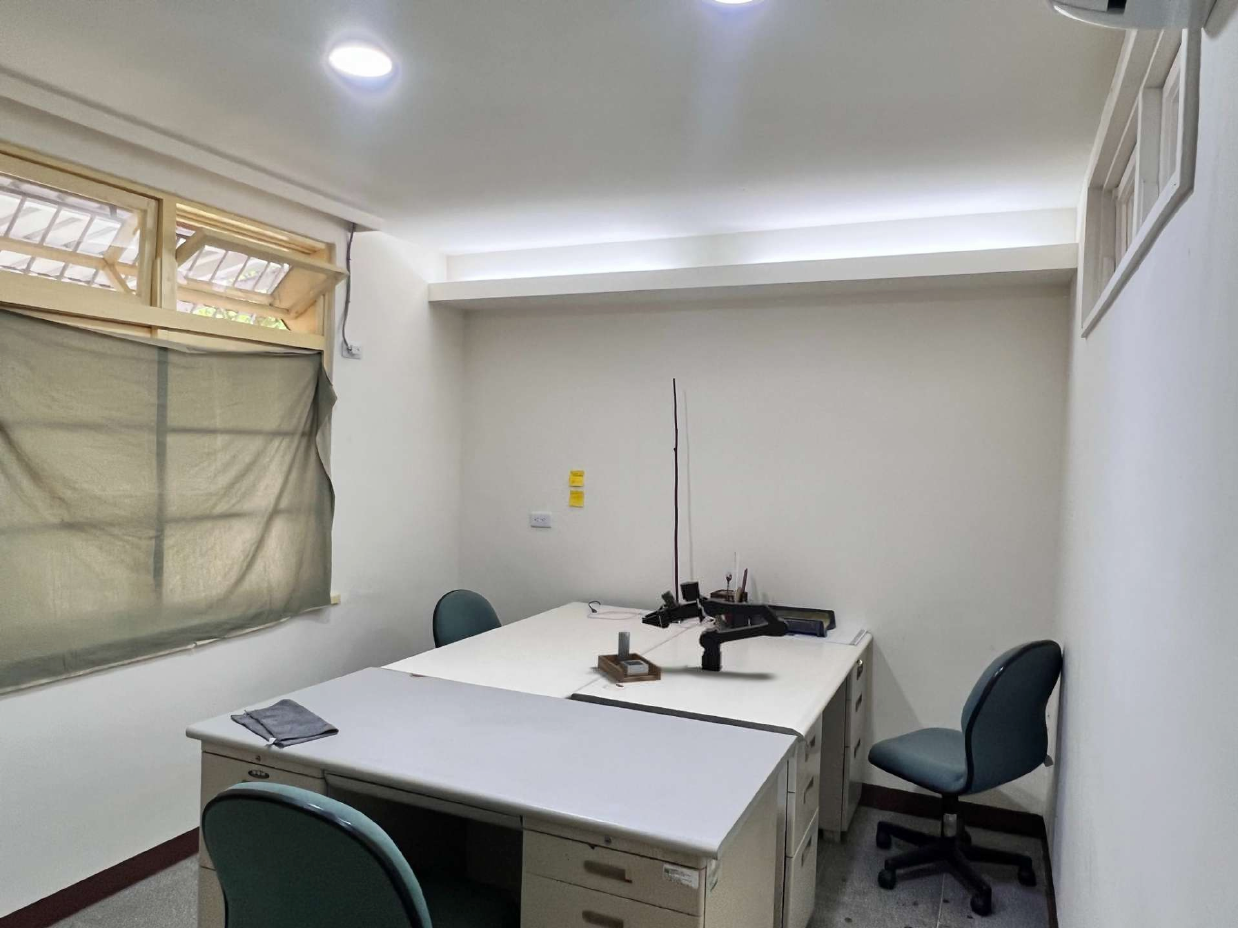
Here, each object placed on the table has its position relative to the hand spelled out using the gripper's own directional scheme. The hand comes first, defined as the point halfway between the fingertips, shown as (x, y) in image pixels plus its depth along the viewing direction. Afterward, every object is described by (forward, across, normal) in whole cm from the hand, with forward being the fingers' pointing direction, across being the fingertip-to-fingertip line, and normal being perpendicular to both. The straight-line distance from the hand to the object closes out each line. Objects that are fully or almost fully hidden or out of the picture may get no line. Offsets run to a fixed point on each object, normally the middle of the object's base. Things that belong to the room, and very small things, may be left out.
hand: (643, 619), depth 303 cm
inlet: (+4, +20, +15) cm, 26 cm away
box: (+7, +16, +15) cm, 23 cm away
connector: (+9, +12, +14) cm, 21 cm away
